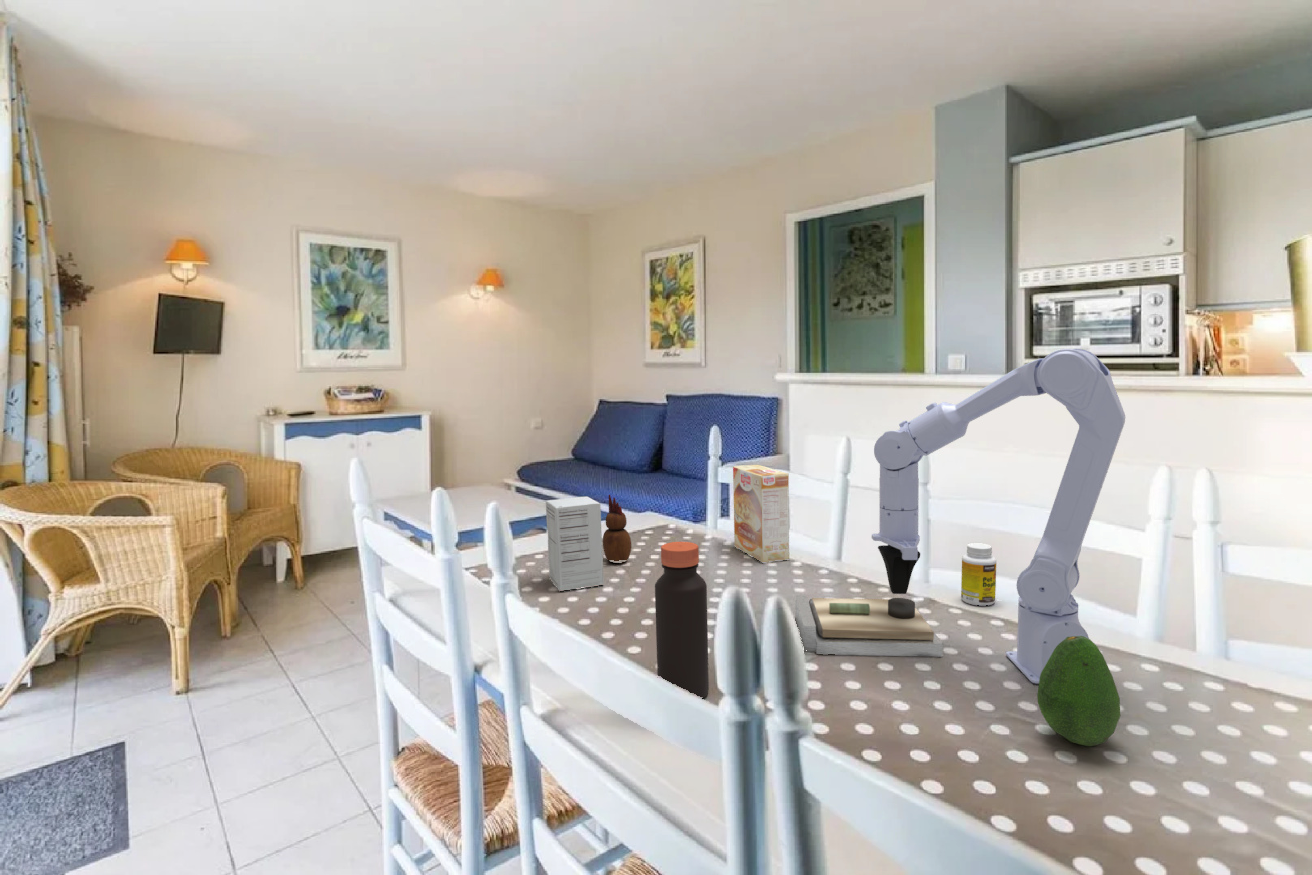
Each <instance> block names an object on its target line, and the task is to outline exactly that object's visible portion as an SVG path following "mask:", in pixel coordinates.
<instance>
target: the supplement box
mask: <svg viewBox="0 0 1312 875" xmlns="http://www.w3.org/2000/svg"><path fill="white" fill-rule="evenodd" d="M601 508H602V507H601V503H600V502H598V501H597V500H594V499H593V498H591V497H590V496H578V497H576V496H575V497H569V498H558V499H549V500H545V512H546V513H545V514H546V530H547V550H548V551H547V554H548V572H549V573H548V574H549V577H550V578H551V580H552V582H553V583H554V584H555V586H557V588H558V589H557V588H556V589H557V590H558V591H559V590H570V589H576V588H581V587H585V586H594V585H600V584H603V583H605V582H604V581H605V580H604V579H605V578H604V559H603V557H604V556H603V535H602V532H603V531H602V512H601V511H602V510H601ZM550 578H549V579H550ZM552 582H551V583H552ZM553 583H552V584H553ZM554 584H553V585H554ZM555 586H554V587H555ZM570 591H571V590H570Z"/></svg>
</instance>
